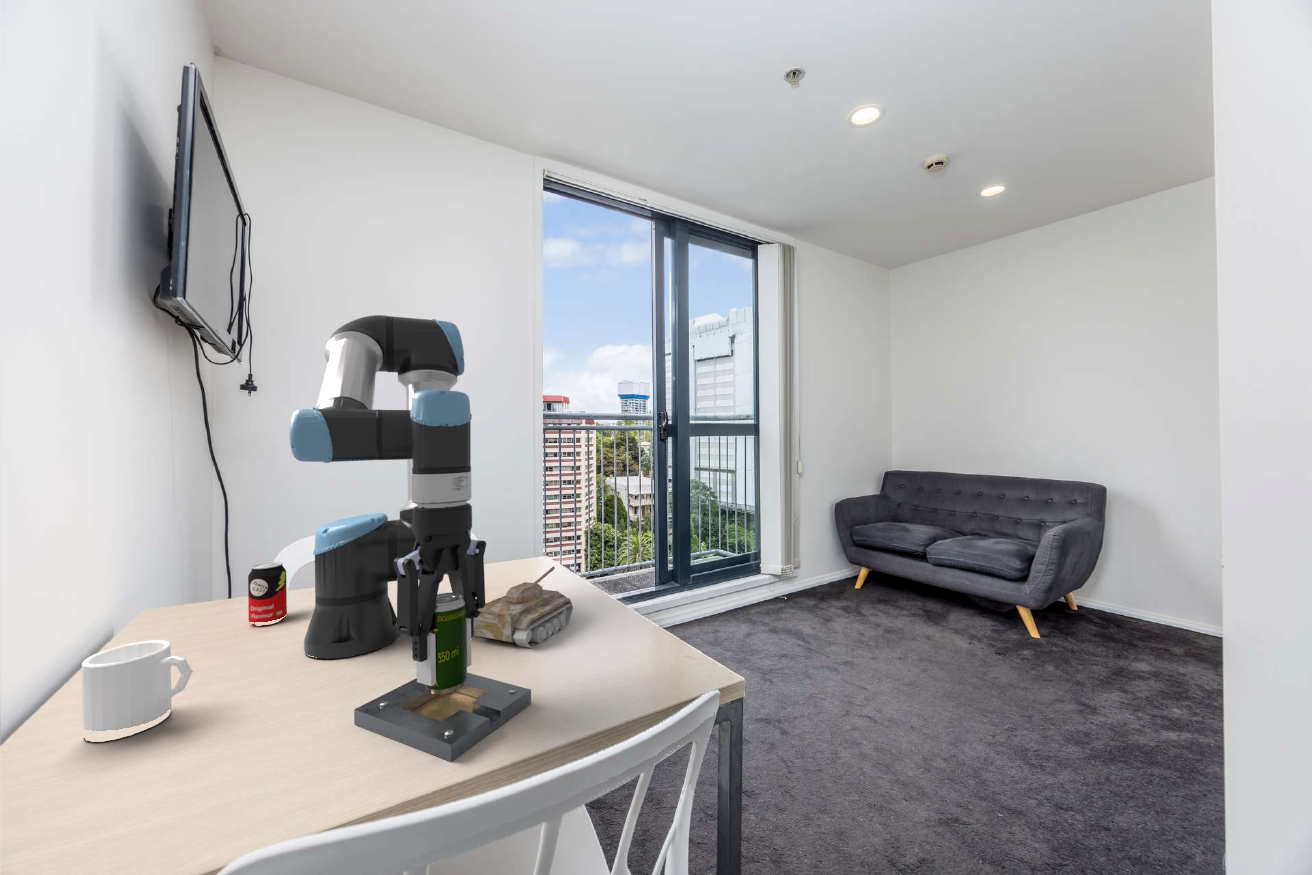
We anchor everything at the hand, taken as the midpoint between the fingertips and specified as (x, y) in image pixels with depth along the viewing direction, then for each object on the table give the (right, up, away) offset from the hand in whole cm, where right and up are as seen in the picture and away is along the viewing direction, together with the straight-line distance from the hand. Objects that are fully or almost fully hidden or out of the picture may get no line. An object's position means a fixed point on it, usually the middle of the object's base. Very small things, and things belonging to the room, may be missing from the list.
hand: (445, 672), depth 68 cm
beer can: (0, -2, 0) cm, 2 cm away
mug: (-40, -6, -1) cm, 40 cm away
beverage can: (-52, -7, +36) cm, 64 cm away
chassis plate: (0, -6, 0) cm, 6 cm away
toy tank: (+3, -6, +31) cm, 32 cm away
